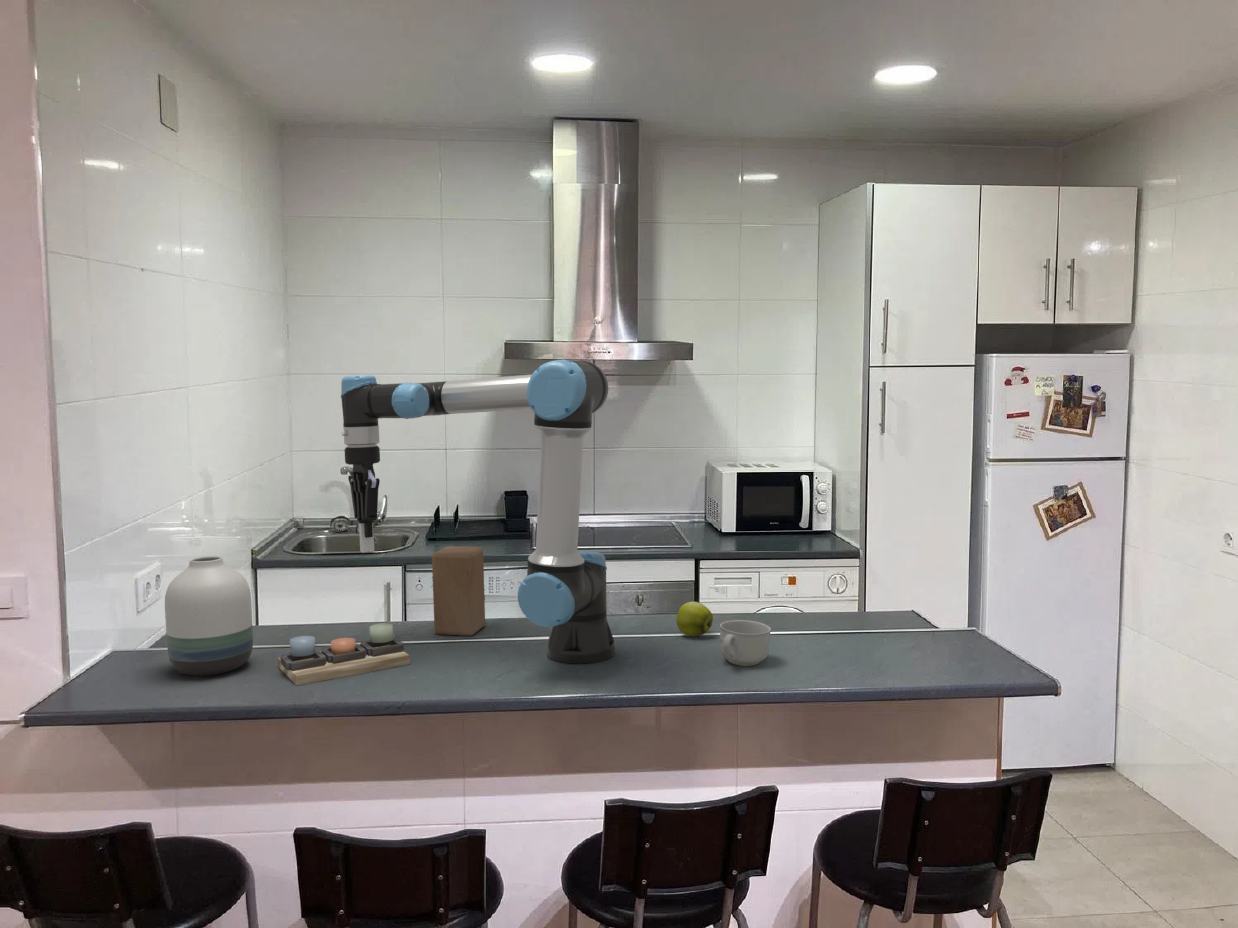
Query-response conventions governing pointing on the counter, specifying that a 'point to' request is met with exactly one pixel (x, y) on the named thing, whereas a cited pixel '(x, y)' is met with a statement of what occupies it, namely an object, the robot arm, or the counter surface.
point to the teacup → (744, 641)
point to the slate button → (302, 646)
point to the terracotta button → (343, 646)
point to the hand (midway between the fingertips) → (367, 551)
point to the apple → (694, 619)
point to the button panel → (344, 662)
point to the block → (458, 590)
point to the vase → (208, 618)
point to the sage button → (381, 633)
